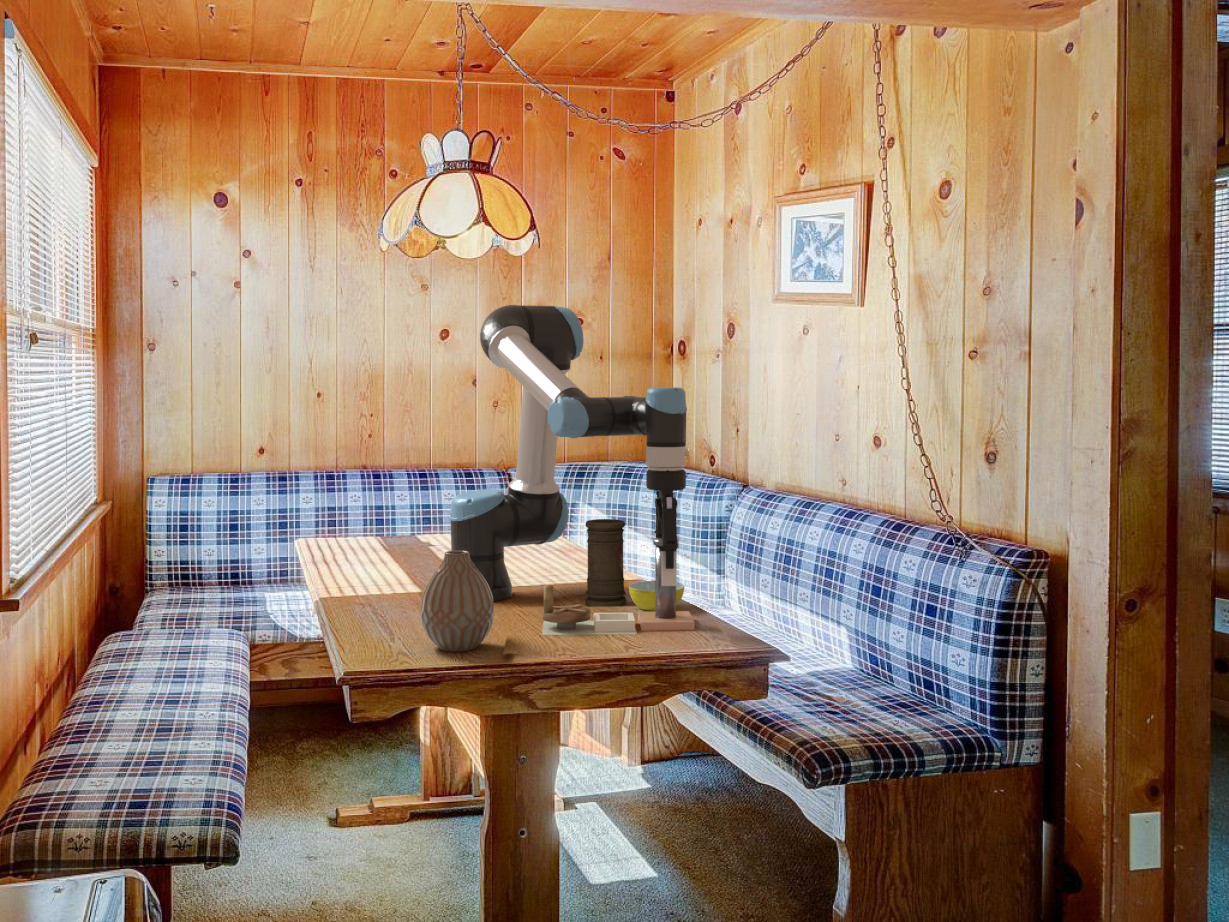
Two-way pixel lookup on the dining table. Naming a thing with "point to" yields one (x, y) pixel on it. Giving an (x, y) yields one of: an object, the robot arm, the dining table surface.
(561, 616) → the handwheel
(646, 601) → the bowl
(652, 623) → the rest tile
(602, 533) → the container
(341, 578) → the dining table surface
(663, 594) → the metal flanged cylinder
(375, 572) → the dining table surface
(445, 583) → the vase
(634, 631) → the plate
